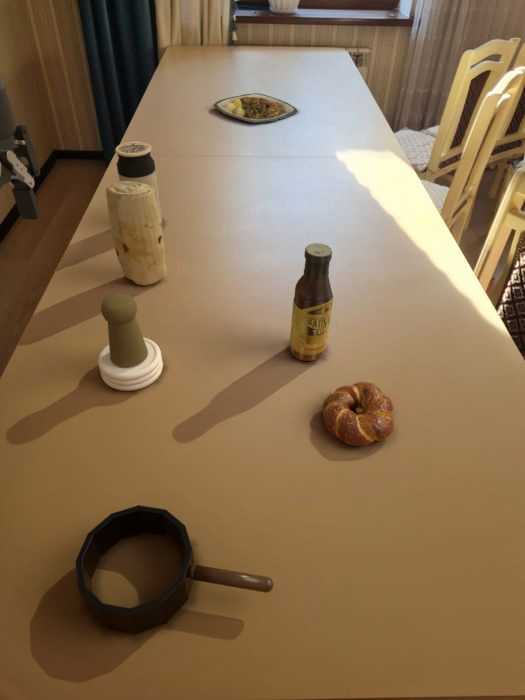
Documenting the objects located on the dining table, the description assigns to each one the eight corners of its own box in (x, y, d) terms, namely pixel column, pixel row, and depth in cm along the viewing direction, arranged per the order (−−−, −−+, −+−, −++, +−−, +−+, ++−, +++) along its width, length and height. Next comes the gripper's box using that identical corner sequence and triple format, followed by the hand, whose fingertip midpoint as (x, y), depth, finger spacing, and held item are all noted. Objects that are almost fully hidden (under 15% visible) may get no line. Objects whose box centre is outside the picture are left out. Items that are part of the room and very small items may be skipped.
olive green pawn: (155, 350, 88) (146, 295, 80) (131, 372, 84) (118, 316, 76) (127, 337, 90) (115, 283, 82) (101, 359, 86) (87, 303, 79)
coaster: (175, 365, 90) (173, 349, 88) (133, 401, 84) (129, 385, 82) (132, 343, 94) (128, 327, 92) (88, 375, 88) (83, 360, 86)
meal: (252, 130, 172) (252, 122, 170) (204, 108, 186) (203, 101, 184) (307, 112, 185) (308, 104, 183) (258, 93, 198) (258, 86, 196)
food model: (171, 270, 111) (159, 177, 98) (164, 289, 106) (150, 193, 93) (125, 268, 112) (107, 175, 99) (115, 286, 107) (95, 191, 94)
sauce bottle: (306, 368, 90) (315, 267, 76) (281, 349, 93) (285, 249, 80) (334, 352, 93) (347, 251, 80) (309, 333, 96) (317, 235, 83)
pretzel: (333, 382, 87) (335, 366, 85) (400, 401, 84) (405, 384, 82) (311, 436, 79) (312, 420, 76) (385, 459, 76) (389, 442, 73)
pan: (68, 621, 59) (56, 601, 56) (110, 521, 68) (103, 499, 65) (263, 658, 57) (263, 640, 53) (280, 549, 66) (281, 527, 62)
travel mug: (160, 233, 122) (149, 155, 110) (124, 233, 122) (110, 155, 110) (164, 216, 128) (154, 140, 116) (131, 216, 128) (117, 140, 116)
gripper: (-32, 63, 57) (14, 204, 68) (-126, 106, 47) (-54, 265, 58) (34, 67, 56) (70, 209, 67) (-47, 112, 46) (11, 272, 57)
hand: (12, 235), depth 62 cm, fingers open, 8 cm apart
